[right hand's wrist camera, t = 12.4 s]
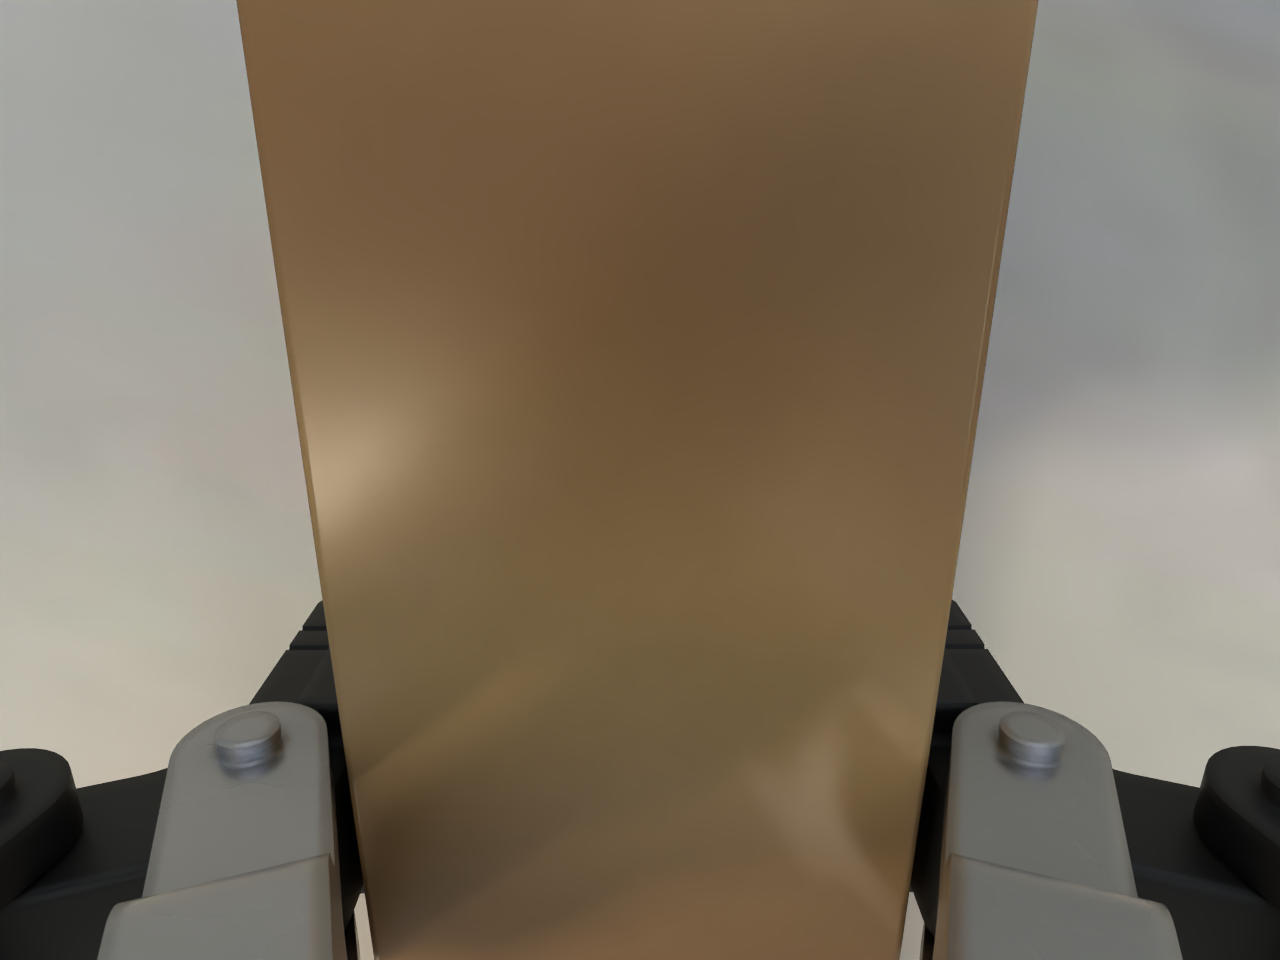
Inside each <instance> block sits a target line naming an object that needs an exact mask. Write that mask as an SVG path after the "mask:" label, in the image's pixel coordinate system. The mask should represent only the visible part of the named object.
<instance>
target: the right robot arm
mask: <svg viewBox="0 0 1280 960" xmlns="http://www.w3.org/2000/svg"><path fill="white" fill-rule="evenodd" d="M909 892H913V893H914V895H915V898H916V901H917V904H918V906H919V909H920V912H921V915H922V918H923V920H924V926H923V933H922V940H921V949H920V960H1280V749H1274V748H1269V747H1260V746H1238V747H1230V748H1227V749H1223V750H1220V751H1219V752H1217V753H1215V754H1214V755H1213V756H1212V757H1211V758H1210V759H1209V760H1208V762H1207V765H1206V768H1205V772H1204V775H1203V779H1202V783H1201V786H1200V788H1198V787H1193V786H1188V785H1183V784H1178V783H1173V782H1168V781H1163V780H1158V779H1154V778H1149V777H1144V776H1139V775H1134V774H1130V773H1126V772H1121V771H1117V770H1114V769H1112V765H1111V760H1110V757H1109V755H1108V752H1107V750H1106V749H1105V747H1104V746H1103V744H1102V743H1101V742H1100V741H1099V740H1098V739H1097V737H1096V736H1094V735H1093V734H1092V733H1091V732H1090V731H1089V730H1087V729H1086V728H1084V727H1083V726H1081V725H1080V724H1078V723H1077V722H1075V721H1073V720H1071V719H1069V718H1068V717H1066V716H1064V715H1061V714H1059V713H1056V712H1054V711H1051V710H1048V709H1045V708H1042V707H1038V706H1034V705H1030V704H1024V702H1023V701H1022V699H1021V698H1020V696H1019V695H1018V693H1017V692H1016V691H1015V689H1014V688H1013V686H1012V685H1011V683H1010V682H1009V680H1008V679H1007V677H1006V676H1005V674H1004V673H1003V671H1002V670H1001V668H1000V667H999V665H998V664H997V662H996V661H995V659H994V658H993V656H992V655H991V653H990V652H989V650H988V649H984V643H983V642H982V640H981V639H980V637H979V636H978V634H977V633H976V631H975V630H972V628H971V624H970V622H969V621H968V619H967V618H966V616H965V615H964V613H963V612H962V610H961V609H960V607H959V606H958V604H957V603H956V602H955V601H953V600H951V607H950V614H949V621H948V628H947V634H946V641H945V648H944V655H943V662H942V669H941V676H940V683H939V690H938V697H937V703H936V710H935V717H934V724H933V731H932V738H931V745H930V752H929V759H928V766H927V772H926V779H925V786H924V793H923V800H922V807H921V814H920V821H919V828H918V835H917V842H916V848H915V855H914V862H913V869H912V876H911V883H910V890H909ZM360 893H365V890H364V883H363V877H362V870H361V863H360V856H359V849H358V842H357V835H356V828H355V821H354V814H353V807H352V800H351V793H350V786H349V779H348V772H347V765H346V758H345V751H344V744H343V738H342V731H341V724H340V717H339V710H338V703H337V696H336V689H335V682H334V675H333V668H332V661H331V654H330V647H329V640H328V633H327V626H326V619H325V612H324V605H323V600H322V601H321V602H319V603H318V604H317V606H316V607H315V609H314V610H313V612H312V613H311V615H310V616H309V618H308V619H307V620H306V622H305V623H304V625H303V630H302V631H299V632H298V634H297V635H296V637H295V638H294V639H293V641H292V642H291V644H290V649H289V650H286V651H285V653H284V654H283V656H282V657H281V658H280V660H279V661H278V663H277V664H276V666H275V667H274V669H273V670H272V672H271V673H270V675H269V676H268V678H267V679H266V680H265V682H264V683H263V685H262V686H261V688H260V689H259V691H258V692H257V694H256V695H255V697H254V698H253V699H252V701H251V702H250V704H249V705H246V706H242V707H238V708H235V709H232V710H229V711H226V712H224V713H221V714H219V715H216V716H214V717H212V718H210V719H209V720H207V721H205V722H203V723H201V724H200V725H198V726H197V727H195V728H194V729H193V730H191V731H190V732H189V733H188V734H187V735H185V736H184V737H183V738H182V740H181V741H180V742H179V743H178V744H177V745H176V747H175V749H174V750H173V752H172V754H171V757H170V760H169V765H168V768H166V769H163V770H160V771H157V772H153V773H149V774H145V775H141V776H136V777H131V778H126V779H122V780H117V781H112V782H107V783H102V784H97V785H92V786H87V787H82V788H77V789H76V787H75V783H74V779H73V776H72V772H71V769H70V766H69V764H68V762H67V761H66V760H65V759H64V758H63V757H62V756H61V755H59V754H57V753H55V752H52V751H48V750H43V749H35V748H27V749H12V750H5V751H0V960H360V951H359V940H358V934H357V927H356V920H355V914H354V908H355V906H356V903H357V900H358V897H359V895H360Z"/></svg>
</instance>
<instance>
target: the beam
mask: <svg viewBox="0 0 1280 960" xmlns="http://www.w3.org/2000/svg"><path fill="white" fill-rule="evenodd" d="M236 1H237V8H238V15H239V22H240V29H241V36H242V42H243V49H244V56H245V63H246V70H247V77H248V84H249V91H250V98H251V105H252V112H253V119H254V126H255V133H256V140H257V147H258V154H259V161H260V168H261V175H262V181H263V188H264V195H265V202H266V209H267V216H268V223H269V230H270V237H271V244H272V251H273V258H274V265H275V272H276V279H277V286H278V293H279V300H280V307H281V314H282V320H283V327H284V334H285V341H286V348H287V355H288V362H289V369H290V376H291V383H292V390H293V397H294V404H295V411H296V418H297V425H298V432H299V439H300V446H301V453H302V460H303V466H304V473H305V480H306V487H307V494H308V501H309V508H310V515H311V522H312V529H313V536H314V543H315V550H316V557H317V564H318V571H319V578H320V585H321V592H322V599H323V605H324V612H325V619H326V626H327V633H328V640H329V647H330V654H331V661H332V668H333V675H334V682H335V689H336V696H337V703H338V710H339V717H340V724H341V731H342V738H343V744H344V751H345V758H346V765H347V772H348V779H349V786H350V793H351V800H352V807H353V814H354V821H355V828H356V835H357V842H358V849H359V856H360V863H361V870H362V877H363V883H364V890H365V897H366V904H367V911H368V918H369V925H370V932H371V939H372V946H373V953H374V960H899V959H900V952H901V945H902V938H903V931H904V924H905V917H906V911H907V904H908V897H909V890H910V883H911V876H912V869H913V862H914V855H915V848H916V842H917V835H918V828H919V821H920V814H921V807H922V800H923V793H924V786H925V779H926V772H927V766H928V759H929V752H930V745H931V738H932V731H933V724H934V717H935V710H936V703H937V697H938V690H939V683H940V676H941V669H942V662H943V655H944V648H945V641H946V634H947V628H948V621H949V614H950V607H951V600H952V593H953V586H954V579H955V572H956V565H957V559H958V552H959V545H960V538H961V531H962V524H963V517H964V510H965V503H966V496H967V489H968V483H969V476H970V469H971V462H972V455H973V448H974V441H975V434H976V427H977V420H978V414H979V407H980V400H981V393H982V386H983V379H984V372H985V365H986V358H987V351H988V345H989V338H990V331H991V324H992V317H993V310H994V303H995V296H996V289H997V282H998V275H999V269H1000V262H1001V255H1002V248H1003V241H1004V234H1005V227H1006V220H1007V213H1008V206H1009V200H1010V193H1011V186H1012V179H1013V172H1014V165H1015V158H1016V151H1017V144H1018V137H1019V131H1020V124H1021V117H1022V110H1023V103H1024V96H1025V89H1026V82H1027V75H1028V68H1029V62H1030V55H1031V48H1032V41H1033V34H1034V27H1035V20H1036V13H1037V6H1038V0H236Z"/></svg>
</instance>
